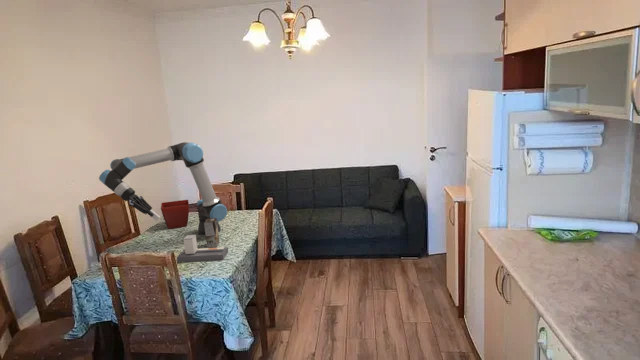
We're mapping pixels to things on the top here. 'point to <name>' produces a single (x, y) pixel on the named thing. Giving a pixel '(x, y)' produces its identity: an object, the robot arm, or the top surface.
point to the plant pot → (175, 213)
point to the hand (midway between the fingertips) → (158, 218)
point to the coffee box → (211, 232)
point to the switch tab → (190, 244)
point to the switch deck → (204, 255)
